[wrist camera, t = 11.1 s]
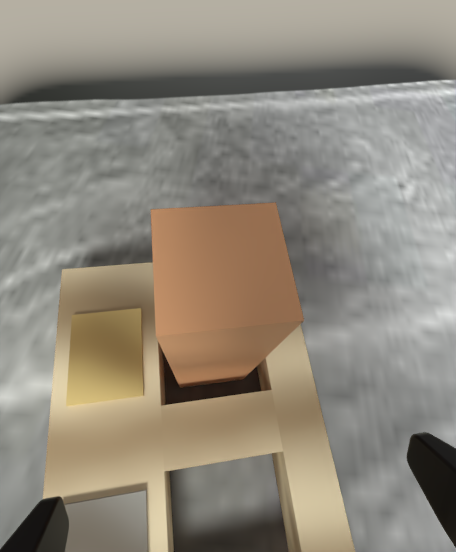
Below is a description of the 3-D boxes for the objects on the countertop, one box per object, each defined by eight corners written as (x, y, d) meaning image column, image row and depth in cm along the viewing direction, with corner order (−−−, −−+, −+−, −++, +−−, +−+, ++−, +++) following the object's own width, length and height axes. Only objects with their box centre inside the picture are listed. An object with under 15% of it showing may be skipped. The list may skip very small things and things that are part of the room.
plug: (242, 379, 20) (304, 320, 9) (180, 387, 20) (156, 336, 8) (234, 320, 22) (275, 202, 10) (176, 326, 22) (150, 209, 10)
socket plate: (355, 644, 16) (392, 696, 13) (53, 724, 14) (13, 808, 11) (273, 270, 24) (284, 249, 21) (78, 288, 22) (60, 267, 19)
